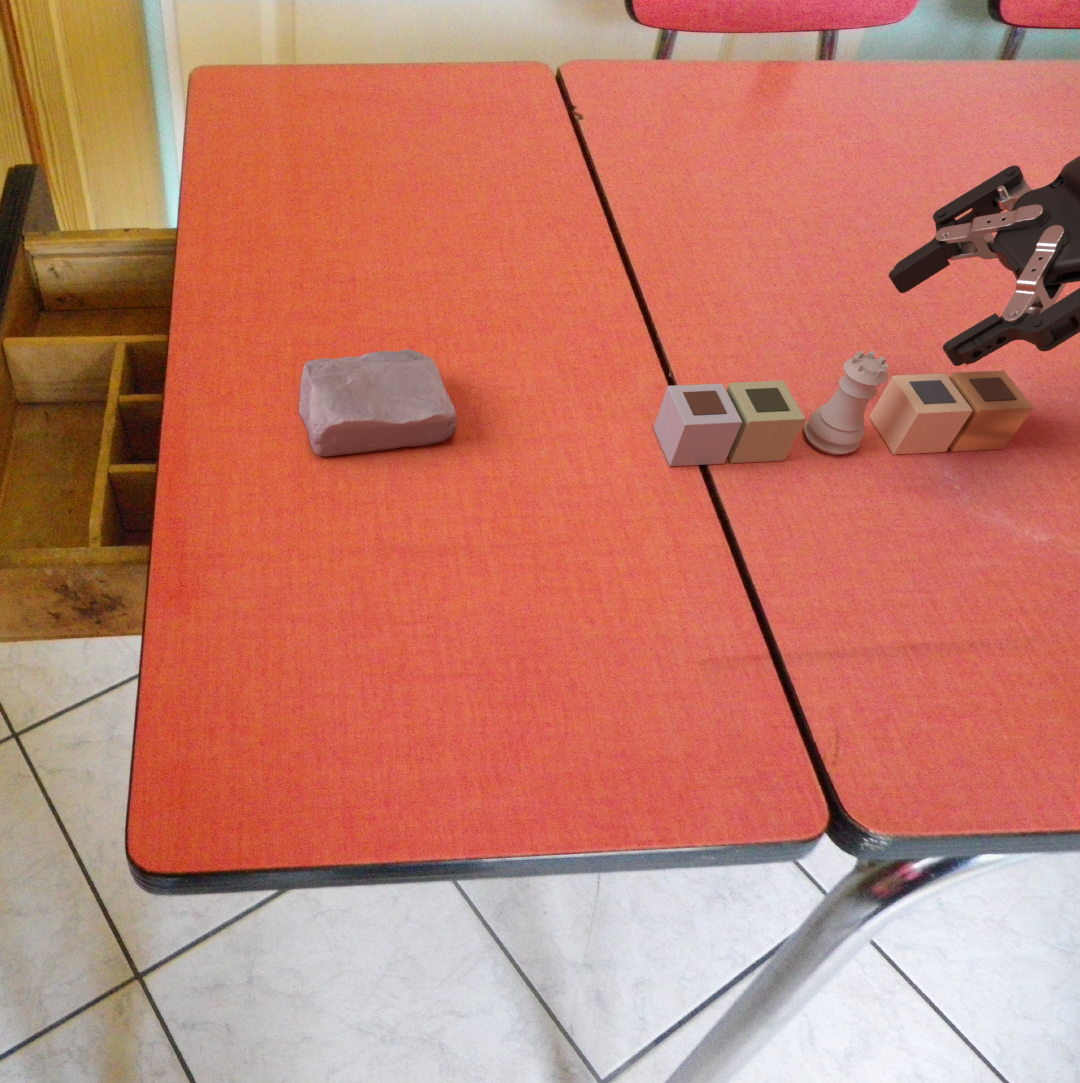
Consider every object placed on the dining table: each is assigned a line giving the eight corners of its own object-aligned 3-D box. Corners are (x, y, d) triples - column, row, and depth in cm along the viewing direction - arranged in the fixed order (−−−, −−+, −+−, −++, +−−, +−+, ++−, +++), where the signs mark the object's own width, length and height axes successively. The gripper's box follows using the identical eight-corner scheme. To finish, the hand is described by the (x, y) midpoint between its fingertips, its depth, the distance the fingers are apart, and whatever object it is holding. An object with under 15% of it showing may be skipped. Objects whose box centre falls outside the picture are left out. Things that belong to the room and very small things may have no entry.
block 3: (919, 414, 83) (946, 371, 79) (945, 452, 80) (974, 409, 76) (868, 417, 82) (892, 374, 79) (892, 455, 80) (918, 412, 76)
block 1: (706, 425, 81) (723, 381, 78) (724, 464, 78) (743, 420, 75) (652, 427, 81) (667, 384, 77) (669, 466, 78) (685, 423, 74)
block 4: (976, 411, 83) (1005, 368, 80) (1004, 449, 80) (1035, 406, 77) (925, 414, 83) (952, 371, 79) (951, 452, 80) (980, 409, 76)
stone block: (292, 402, 84) (312, 466, 77) (291, 350, 81) (311, 411, 74) (427, 390, 86) (459, 452, 79) (431, 340, 83) (465, 398, 76)
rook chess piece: (793, 442, 80) (832, 365, 74) (812, 412, 83) (850, 335, 76) (848, 465, 79) (892, 388, 72) (865, 434, 81) (909, 357, 75)
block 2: (764, 422, 82) (784, 379, 78) (785, 460, 79) (806, 417, 75) (712, 424, 81) (729, 381, 78) (730, 463, 78) (749, 420, 75)
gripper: (1091, 76, 67) (858, 233, 74) (1233, 189, 57) (950, 354, 65) (1116, 150, 71) (894, 290, 79) (1251, 264, 62) (985, 411, 70)
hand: (920, 319), depth 72 cm, fingers open, 8 cm apart
